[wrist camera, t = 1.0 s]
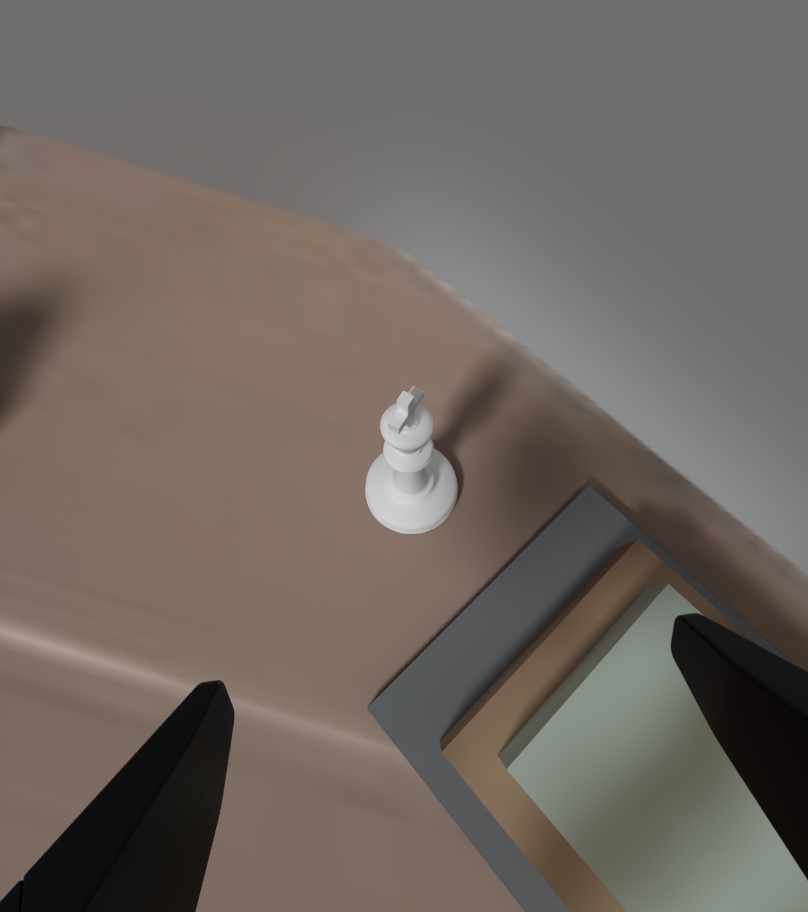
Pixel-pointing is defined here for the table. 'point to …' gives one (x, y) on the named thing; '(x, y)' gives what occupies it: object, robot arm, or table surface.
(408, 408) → the chess piece
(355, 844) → the table surface
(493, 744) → the stacked blocks
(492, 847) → the baseplate
